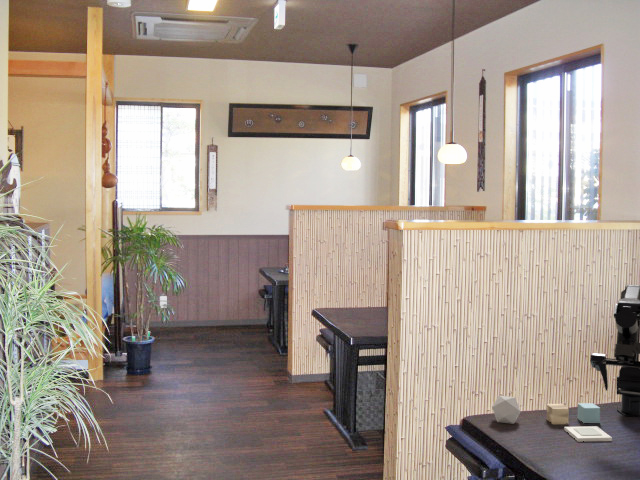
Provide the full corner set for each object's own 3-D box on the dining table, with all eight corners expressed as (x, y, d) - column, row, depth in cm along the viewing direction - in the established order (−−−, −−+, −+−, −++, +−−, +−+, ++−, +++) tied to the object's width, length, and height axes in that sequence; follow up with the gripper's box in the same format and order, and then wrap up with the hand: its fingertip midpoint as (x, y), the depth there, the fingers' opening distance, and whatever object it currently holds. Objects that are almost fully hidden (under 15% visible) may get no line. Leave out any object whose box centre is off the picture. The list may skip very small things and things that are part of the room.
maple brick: (546, 419, 223) (546, 404, 222) (562, 419, 223) (562, 403, 223) (552, 424, 218) (552, 408, 217) (568, 424, 218) (568, 408, 218)
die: (523, 421, 222) (508, 393, 227) (528, 415, 215) (512, 387, 219) (499, 431, 222) (485, 403, 226) (503, 426, 214) (489, 397, 218)
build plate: (564, 430, 212) (564, 426, 212) (596, 429, 213) (596, 425, 213) (578, 441, 202) (578, 437, 202) (611, 440, 203) (612, 436, 203)
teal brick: (577, 418, 223) (577, 403, 223) (592, 418, 223) (593, 403, 223) (584, 424, 218) (584, 408, 218) (599, 423, 218) (600, 407, 218)
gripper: (590, 328, 205) (586, 379, 198) (661, 333, 196) (659, 387, 189) (594, 341, 213) (590, 391, 207) (662, 347, 204) (660, 399, 198)
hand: (623, 392), depth 200 cm, fingers open, 9 cm apart
